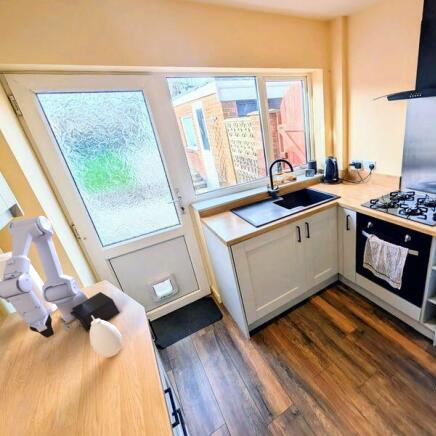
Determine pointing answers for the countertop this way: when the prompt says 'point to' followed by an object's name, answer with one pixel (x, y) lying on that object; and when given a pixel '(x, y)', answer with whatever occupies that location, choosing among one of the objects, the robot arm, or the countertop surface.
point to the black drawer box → (96, 308)
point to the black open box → (78, 320)
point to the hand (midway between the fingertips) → (50, 335)
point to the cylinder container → (36, 280)
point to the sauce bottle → (105, 338)
